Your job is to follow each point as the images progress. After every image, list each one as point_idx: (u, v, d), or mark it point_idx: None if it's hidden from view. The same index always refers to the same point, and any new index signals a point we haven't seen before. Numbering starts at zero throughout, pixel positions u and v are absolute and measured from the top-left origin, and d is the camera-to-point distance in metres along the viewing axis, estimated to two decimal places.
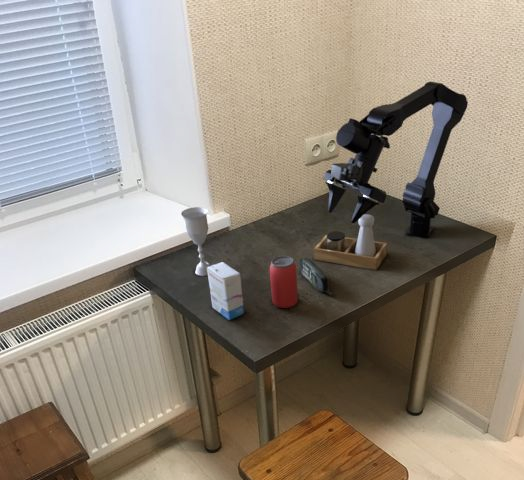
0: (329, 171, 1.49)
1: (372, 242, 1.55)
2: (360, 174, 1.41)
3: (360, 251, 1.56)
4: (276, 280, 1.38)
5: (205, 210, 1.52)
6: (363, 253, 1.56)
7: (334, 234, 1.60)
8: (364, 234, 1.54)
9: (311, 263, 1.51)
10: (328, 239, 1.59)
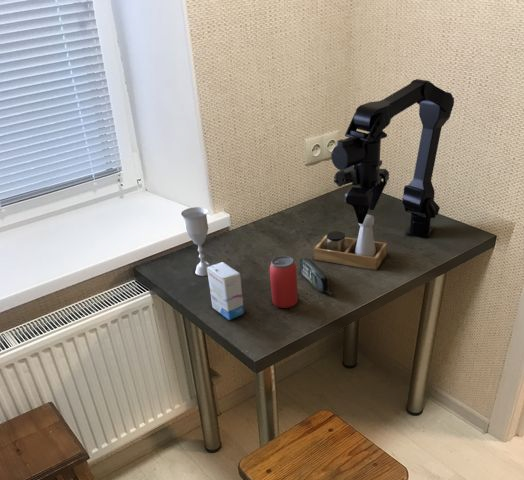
0: None
1: (372, 242, 1.55)
2: (354, 177, 1.44)
3: (360, 251, 1.56)
4: (276, 280, 1.38)
5: (205, 210, 1.52)
6: (363, 253, 1.56)
7: (334, 234, 1.60)
8: (364, 234, 1.54)
9: (311, 263, 1.51)
10: (328, 239, 1.59)
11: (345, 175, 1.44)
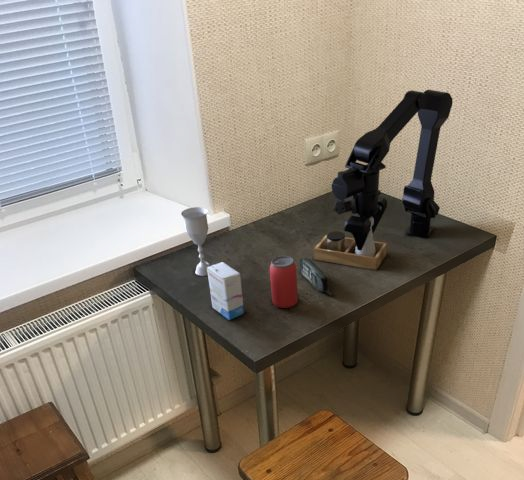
0: None
1: (372, 243, 1.55)
2: (353, 206, 1.49)
3: (360, 251, 1.56)
4: (276, 280, 1.38)
5: (205, 210, 1.52)
6: (363, 253, 1.56)
7: (334, 234, 1.60)
8: None
9: (311, 263, 1.51)
10: (328, 239, 1.59)
11: (345, 204, 1.49)
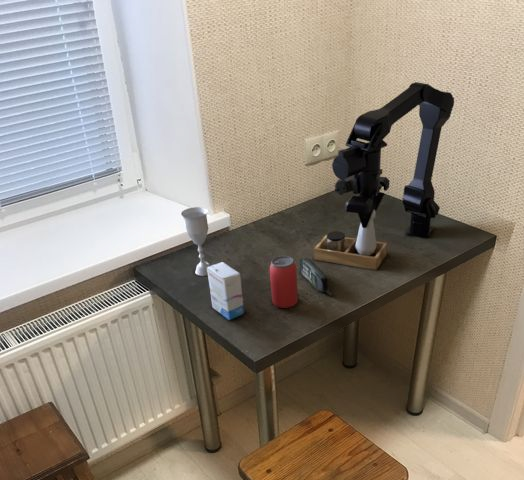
0: None
1: (373, 236, 1.54)
2: (354, 186, 1.45)
3: (360, 244, 1.55)
4: (276, 280, 1.38)
5: (205, 210, 1.52)
6: (363, 246, 1.55)
7: (334, 234, 1.60)
8: (365, 228, 1.52)
9: (311, 263, 1.51)
10: (328, 239, 1.59)
11: (346, 184, 1.46)
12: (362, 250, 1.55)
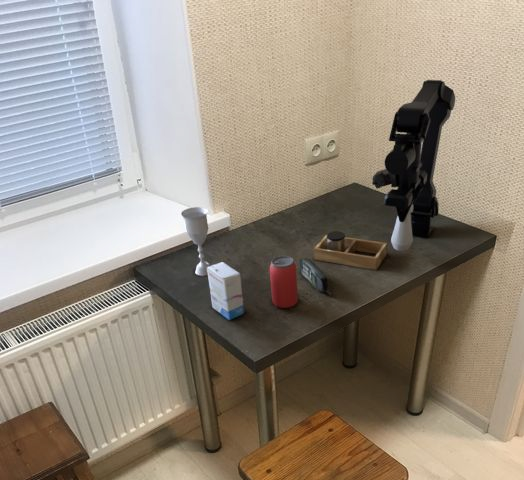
0: None
1: (410, 230, 1.51)
2: (393, 179, 1.42)
3: (397, 239, 1.52)
4: (276, 280, 1.38)
5: (205, 210, 1.52)
6: (400, 241, 1.52)
7: (334, 234, 1.60)
8: (402, 222, 1.49)
9: (311, 263, 1.51)
10: (328, 239, 1.59)
11: (384, 177, 1.43)
12: (398, 245, 1.52)
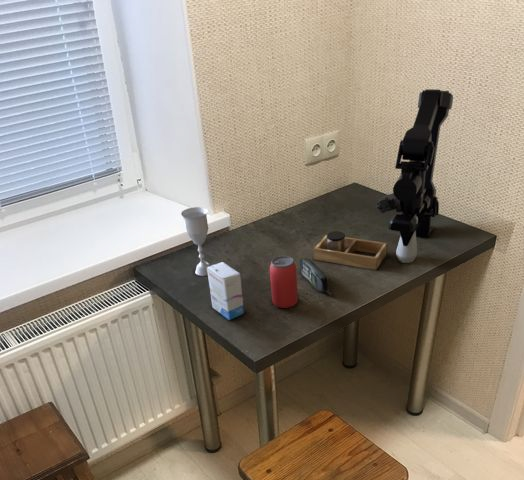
0: None
1: (415, 242, 1.53)
2: (398, 204, 1.46)
3: (402, 251, 1.54)
4: (276, 280, 1.38)
5: (205, 210, 1.52)
6: (405, 253, 1.54)
7: (334, 234, 1.60)
8: None
9: (311, 263, 1.51)
10: (328, 239, 1.59)
11: (389, 202, 1.46)
12: (403, 257, 1.54)
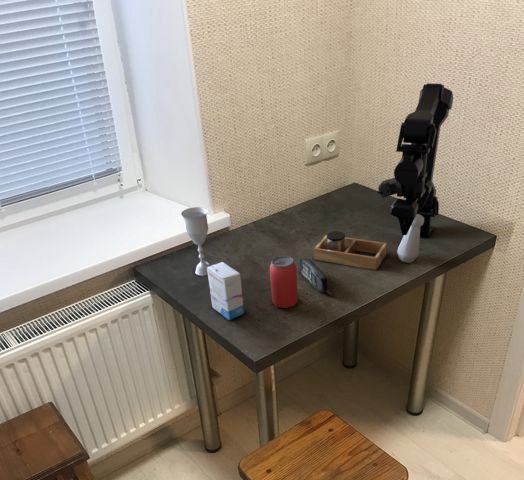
0: None
1: (418, 243, 1.53)
2: (399, 189, 1.43)
3: (404, 250, 1.53)
4: (276, 280, 1.38)
5: (205, 210, 1.52)
6: (407, 253, 1.53)
7: (334, 234, 1.60)
8: (411, 234, 1.51)
9: (311, 263, 1.51)
10: (328, 239, 1.59)
11: (390, 186, 1.44)
12: (405, 256, 1.54)
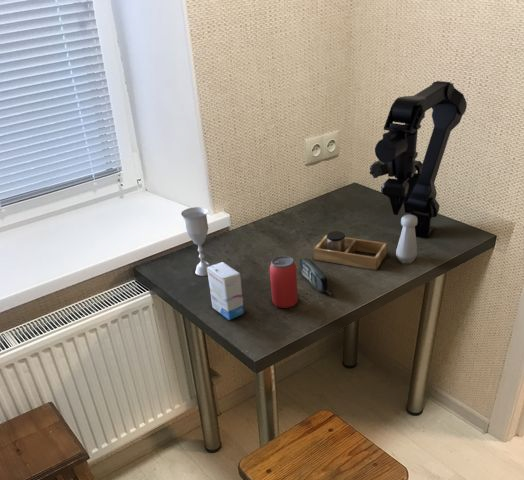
0: None
1: (415, 243, 1.53)
2: (390, 169, 1.47)
3: (402, 252, 1.54)
4: (276, 280, 1.38)
5: (205, 210, 1.52)
6: (405, 254, 1.54)
7: (334, 234, 1.60)
8: (407, 235, 1.51)
9: (311, 263, 1.51)
10: (328, 239, 1.59)
11: (381, 167, 1.47)
12: (404, 258, 1.54)
